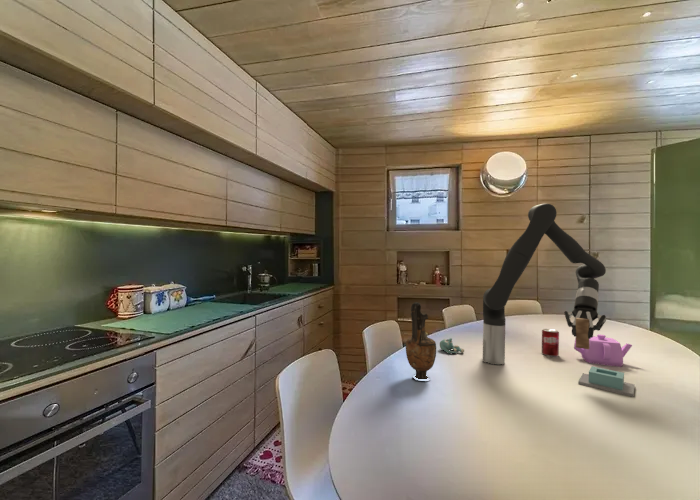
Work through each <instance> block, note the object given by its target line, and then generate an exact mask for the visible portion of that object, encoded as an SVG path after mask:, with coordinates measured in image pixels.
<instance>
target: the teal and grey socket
mask: <svg viewBox="0 0 700 500" xmlns="http://www.w3.org/2000/svg"><path fill="white" fill-rule="evenodd" d="M577 383H578V385H581V386H586V387H589V388H593V389H597V390H602V391H607V392H611V393H616V394H619V395H624V396H628V397H632V398H633V397H634V394H635V387H636V386H635V384H634V383H629V382H626V381H625V372H621V371H617V370H613V369H612V370H611V369H607V368H603V367H596V366H594V365H593V366H591V367H590V369H588V373H582V375H581V376H580V377H579V380H578V381H577Z"/></svg>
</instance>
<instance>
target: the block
mask: <svg viewBox="0 0 700 500" xmlns="http://www.w3.org/2000/svg"><path fill="white" fill-rule="evenodd" d="M588 331H589V319H584V318H576V337H575V338H576V347H577V348H583V349H589V339H588Z"/></svg>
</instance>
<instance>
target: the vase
mask: <svg viewBox="0 0 700 500" xmlns="http://www.w3.org/2000/svg"><path fill="white" fill-rule="evenodd" d="M421 308H422V305H421V302H417V301H416V302H413V303H412V304H411V307H410V312H411V313H410V317H411V337H409V338H408V339H407V340H406V342H405V354H406V358H407V363H408V364H409V366H410V367H411V368H412V369H413V370H414V371H415V374H416V376H415V377H416V378H418V379H427V378H428V377H427V376H428V375H427V373H428V371H429V370H431V369H432V368H433V366H434V364H435V362H436V356H437V343H436V341H435V340H434V339H433V338H430V337H429V336H427V333H426V320H428V319H429V315H428V314H427V313H422V312H421ZM426 375H427V376H426Z"/></svg>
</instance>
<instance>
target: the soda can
mask: <svg viewBox="0 0 700 500" xmlns="http://www.w3.org/2000/svg"><path fill="white" fill-rule="evenodd" d="M559 350H560V332H559V330H557V329H552V328H543V329H542V330H541V354H542V355H543V354H544V355H543V356H546V357H551V358H553V357H554V358H556V357H558V356H559V355H560V354H559V353H560V351H559Z"/></svg>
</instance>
